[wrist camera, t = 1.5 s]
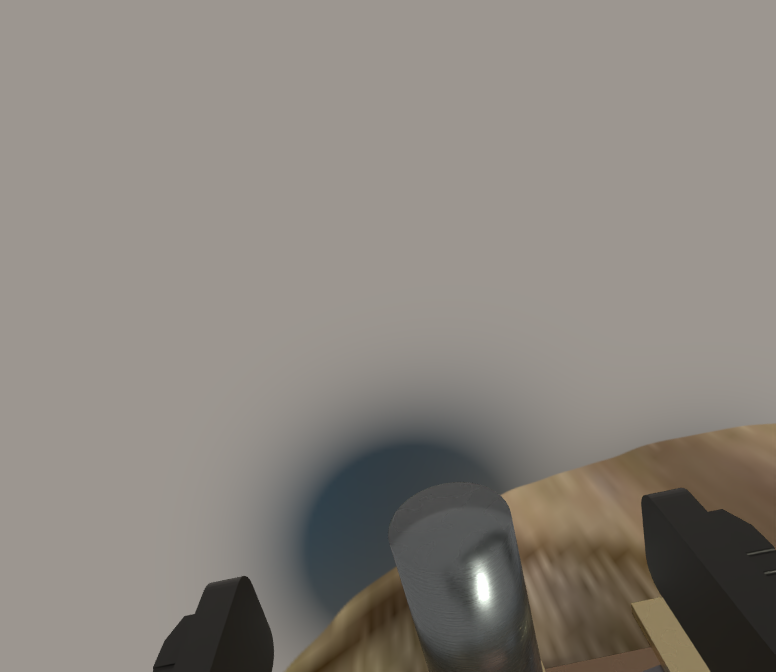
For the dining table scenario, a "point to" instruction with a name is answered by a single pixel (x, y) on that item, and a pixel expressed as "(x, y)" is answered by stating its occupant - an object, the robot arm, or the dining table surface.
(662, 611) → the balance
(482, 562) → the tea canister
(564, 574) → the dining table surface
